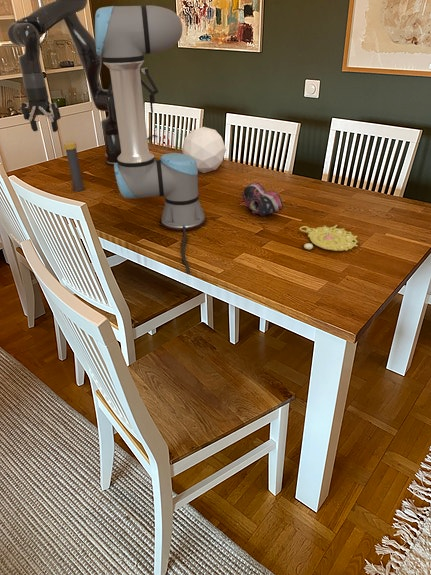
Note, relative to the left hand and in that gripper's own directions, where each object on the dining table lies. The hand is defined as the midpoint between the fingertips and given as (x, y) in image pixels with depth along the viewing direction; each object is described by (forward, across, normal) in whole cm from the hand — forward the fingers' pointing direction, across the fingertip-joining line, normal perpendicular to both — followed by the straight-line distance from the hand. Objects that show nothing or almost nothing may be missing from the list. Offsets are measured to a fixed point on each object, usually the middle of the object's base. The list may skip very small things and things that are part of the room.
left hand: (45, 131), depth 172 cm
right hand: (-3, -30, -20) cm, 36 cm away
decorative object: (+25, -110, +26) cm, 116 cm away
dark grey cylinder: (+25, -7, -4) cm, 26 cm away
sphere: (+25, -54, -36) cm, 69 cm away
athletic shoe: (+25, -85, +7) cm, 88 cm away
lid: (+6, -7, -4) cm, 10 cm away
